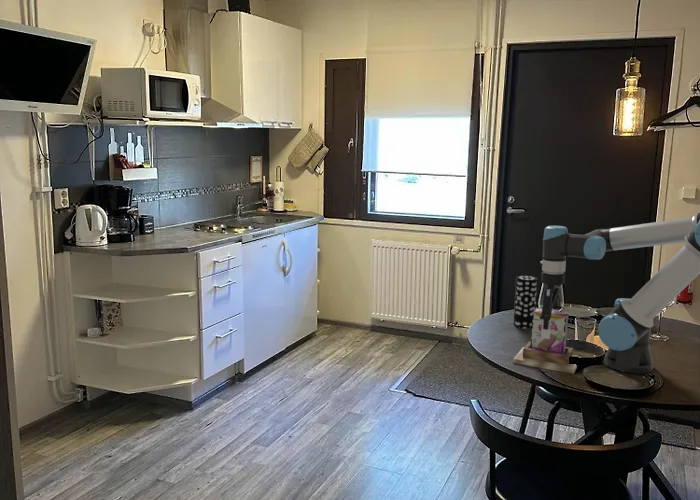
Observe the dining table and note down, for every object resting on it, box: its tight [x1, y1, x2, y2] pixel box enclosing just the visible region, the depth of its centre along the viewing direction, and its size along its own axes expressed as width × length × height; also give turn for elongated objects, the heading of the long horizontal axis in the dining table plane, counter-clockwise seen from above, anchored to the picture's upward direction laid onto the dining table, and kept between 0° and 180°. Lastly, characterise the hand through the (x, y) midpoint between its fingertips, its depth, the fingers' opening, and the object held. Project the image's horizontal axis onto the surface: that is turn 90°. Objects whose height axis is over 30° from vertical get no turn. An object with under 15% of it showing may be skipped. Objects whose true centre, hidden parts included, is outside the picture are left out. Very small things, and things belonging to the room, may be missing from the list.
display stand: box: [512, 340, 578, 375], centre depth 222 cm, size 20×14×5 cm
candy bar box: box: [530, 308, 569, 354], centre depth 220 cm, size 11×5×16 cm, turn 63°
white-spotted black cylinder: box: [513, 275, 538, 330], centre depth 261 cm, size 8×8×20 cm
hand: (549, 332), depth 220 cm, fingers open, 13 cm apart
